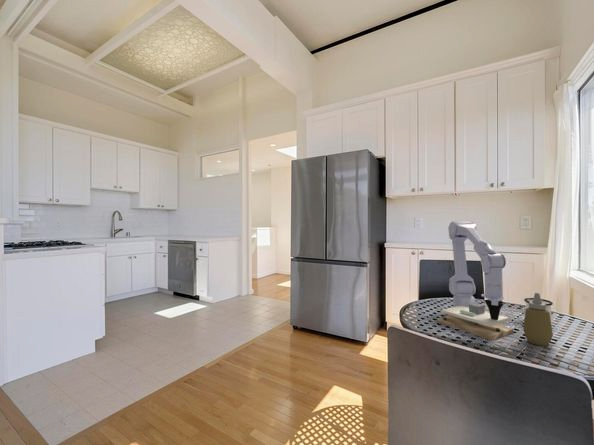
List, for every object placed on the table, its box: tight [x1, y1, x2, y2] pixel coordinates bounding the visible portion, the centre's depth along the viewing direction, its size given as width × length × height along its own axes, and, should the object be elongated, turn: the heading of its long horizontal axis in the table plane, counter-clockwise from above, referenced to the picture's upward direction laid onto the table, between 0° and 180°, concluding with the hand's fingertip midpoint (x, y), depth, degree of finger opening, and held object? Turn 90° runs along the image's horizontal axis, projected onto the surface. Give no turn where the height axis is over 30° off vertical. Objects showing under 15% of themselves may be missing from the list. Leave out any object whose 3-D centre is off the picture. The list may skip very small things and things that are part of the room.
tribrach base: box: [437, 315, 514, 341], centre depth 116 cm, size 15×22×4 cm
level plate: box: [440, 302, 510, 326], centre depth 116 cm, size 13×20×4 cm, turn 26°
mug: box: [523, 297, 554, 320], centre depth 120 cm, size 12×10×9 cm
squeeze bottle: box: [522, 292, 554, 347], centre depth 100 cm, size 8×8×18 cm
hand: (494, 319), depth 108 cm, fingers closed, pressing on level plate
